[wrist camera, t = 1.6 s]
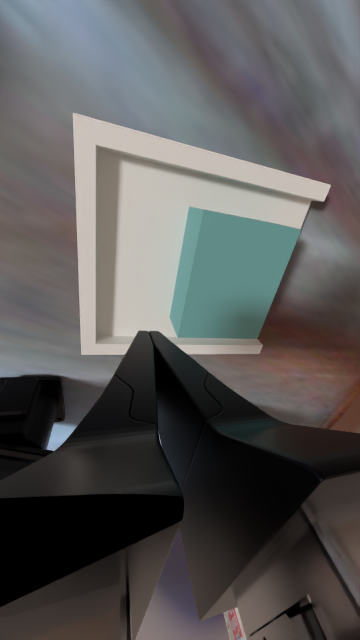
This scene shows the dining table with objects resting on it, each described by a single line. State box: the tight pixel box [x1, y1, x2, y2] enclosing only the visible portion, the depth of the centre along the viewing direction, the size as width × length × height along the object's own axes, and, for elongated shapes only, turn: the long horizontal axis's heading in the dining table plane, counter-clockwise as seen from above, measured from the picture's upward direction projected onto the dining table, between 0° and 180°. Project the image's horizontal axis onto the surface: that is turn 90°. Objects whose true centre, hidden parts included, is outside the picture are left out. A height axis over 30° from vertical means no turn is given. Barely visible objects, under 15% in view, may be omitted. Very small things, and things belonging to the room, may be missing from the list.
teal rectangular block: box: [170, 207, 302, 339], centre depth 20 cm, size 10×8×4 cm
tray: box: [73, 113, 331, 355], centre depth 20 cm, size 17×19×2 cm
